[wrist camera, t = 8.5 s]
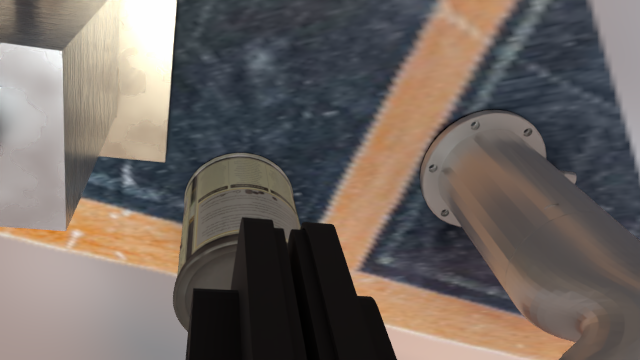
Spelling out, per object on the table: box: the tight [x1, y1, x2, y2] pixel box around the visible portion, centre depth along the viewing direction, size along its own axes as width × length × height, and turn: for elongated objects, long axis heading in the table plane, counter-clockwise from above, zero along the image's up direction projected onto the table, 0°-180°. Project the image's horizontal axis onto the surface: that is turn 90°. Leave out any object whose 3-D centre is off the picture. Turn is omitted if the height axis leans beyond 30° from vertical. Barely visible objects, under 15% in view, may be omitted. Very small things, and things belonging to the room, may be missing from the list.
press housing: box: [0, 0, 177, 231], centre depth 34 cm, size 18×18×18 cm
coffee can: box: [173, 153, 300, 331], centre depth 46 cm, size 10×10×14 cm
